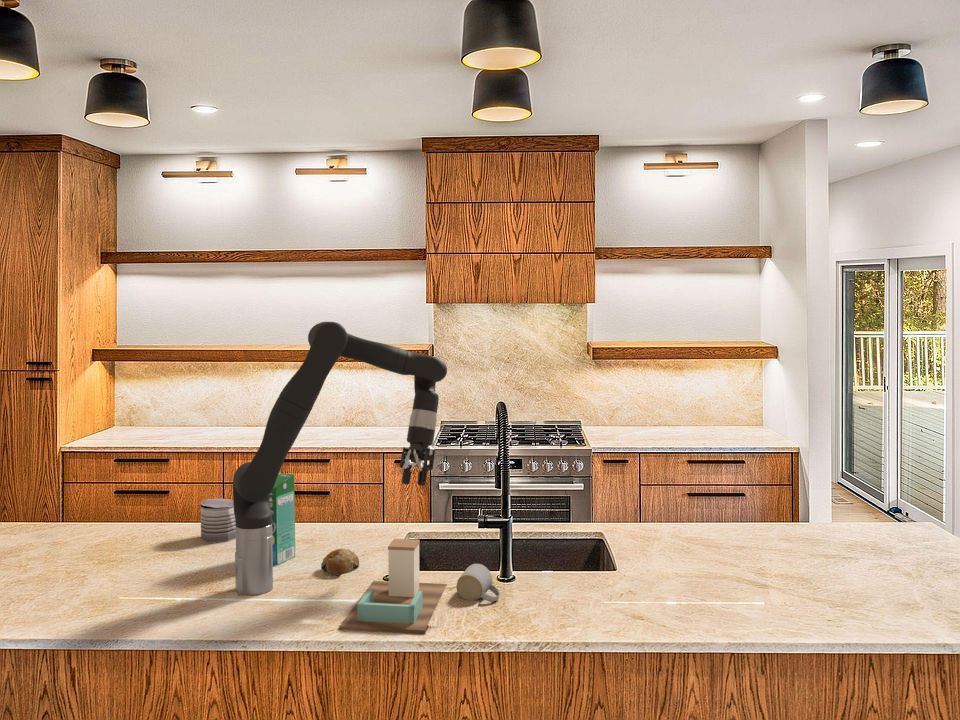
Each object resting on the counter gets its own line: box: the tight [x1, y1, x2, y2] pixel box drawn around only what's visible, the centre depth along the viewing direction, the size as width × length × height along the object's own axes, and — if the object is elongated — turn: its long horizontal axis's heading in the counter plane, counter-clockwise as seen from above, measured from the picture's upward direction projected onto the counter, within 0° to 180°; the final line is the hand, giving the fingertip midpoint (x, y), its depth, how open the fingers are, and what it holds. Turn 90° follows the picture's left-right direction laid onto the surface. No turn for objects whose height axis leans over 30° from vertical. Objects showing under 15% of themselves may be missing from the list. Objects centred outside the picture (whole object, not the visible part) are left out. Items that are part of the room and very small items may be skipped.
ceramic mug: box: [456, 563, 501, 603], centre depth 195 cm, size 11×8×8 cm
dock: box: [357, 588, 423, 624], centre depth 182 cm, size 10×13×4 cm
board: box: [339, 580, 447, 635], centre depth 189 cm, size 30×20×1 cm, turn 173°
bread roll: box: [320, 548, 360, 576], centre depth 216 cm, size 10×10×8 cm
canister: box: [387, 538, 421, 597], centre depth 197 cm, size 7×7×13 cm
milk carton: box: [269, 472, 296, 566], centre depth 224 cm, size 9×9×25 cm
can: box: [199, 498, 236, 544], centre depth 246 cm, size 11×11×12 cm
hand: (413, 484), depth 213 cm, fingers open, 8 cm apart
